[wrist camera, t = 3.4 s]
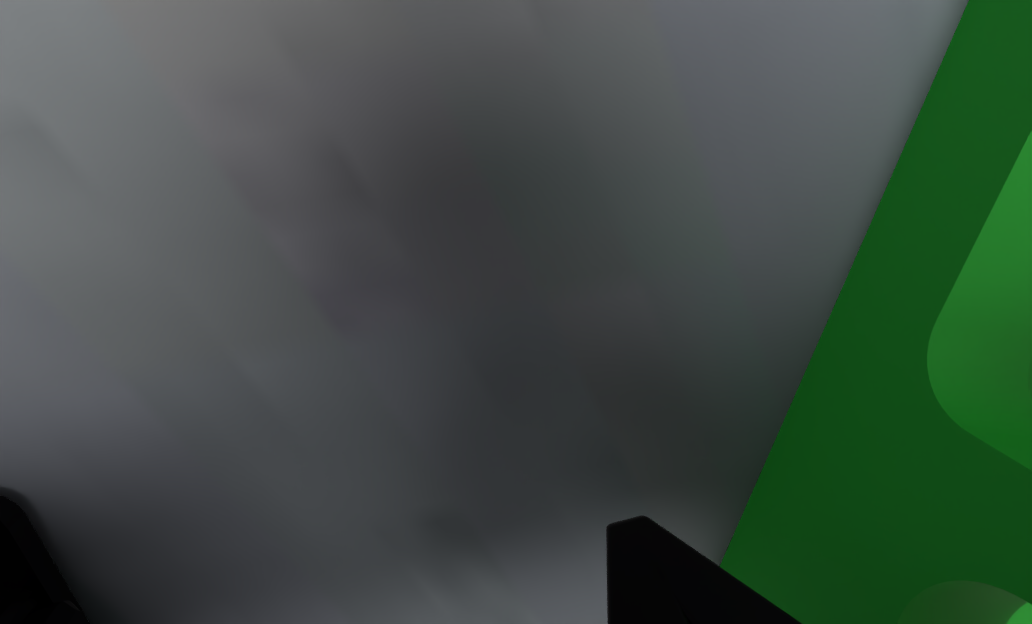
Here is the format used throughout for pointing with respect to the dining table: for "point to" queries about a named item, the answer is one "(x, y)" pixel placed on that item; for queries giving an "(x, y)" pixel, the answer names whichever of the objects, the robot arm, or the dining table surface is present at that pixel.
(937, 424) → the mechanical part
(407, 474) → the dining table surface
